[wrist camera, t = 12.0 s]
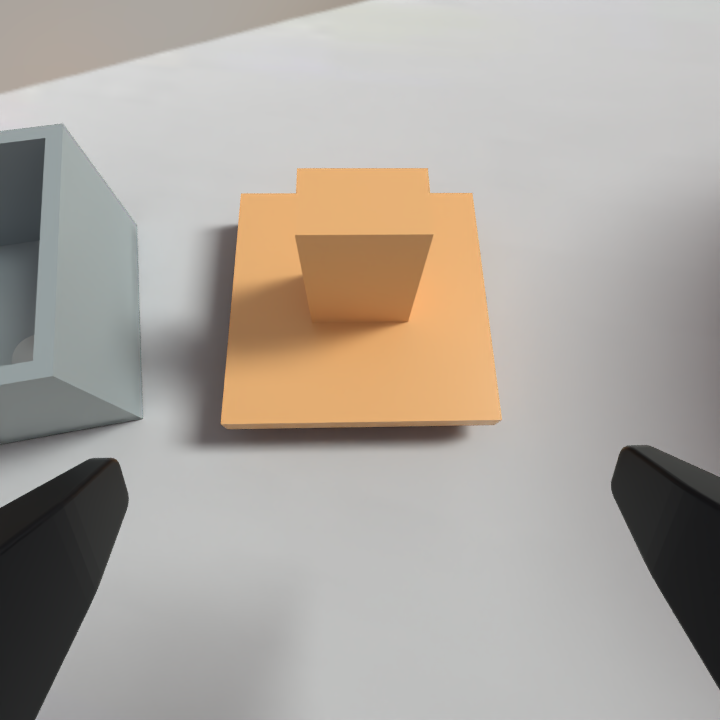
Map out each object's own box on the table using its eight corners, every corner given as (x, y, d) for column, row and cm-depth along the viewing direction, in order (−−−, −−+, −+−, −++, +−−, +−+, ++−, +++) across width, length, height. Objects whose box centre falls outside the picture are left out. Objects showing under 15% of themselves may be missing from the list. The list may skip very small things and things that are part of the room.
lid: (485, 430, 19) (577, 371, 11) (234, 434, 19) (154, 376, 11) (461, 222, 23) (518, 71, 15) (251, 223, 22) (199, 69, 15)
